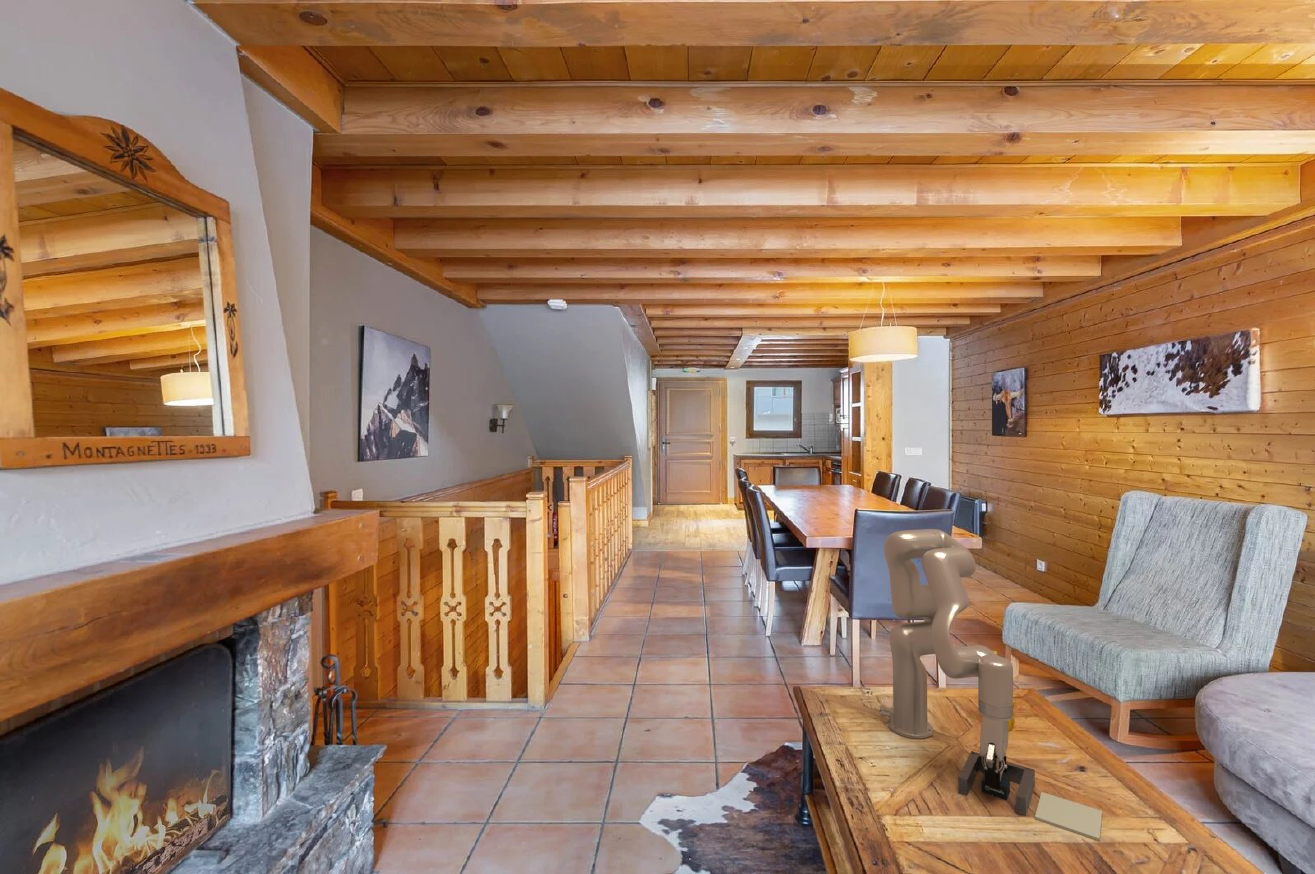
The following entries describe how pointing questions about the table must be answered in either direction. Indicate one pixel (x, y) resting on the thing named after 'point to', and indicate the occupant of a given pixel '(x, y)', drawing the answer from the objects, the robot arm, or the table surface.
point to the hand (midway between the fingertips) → (995, 777)
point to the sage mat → (1069, 815)
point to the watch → (1004, 782)
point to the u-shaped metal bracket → (1012, 773)
